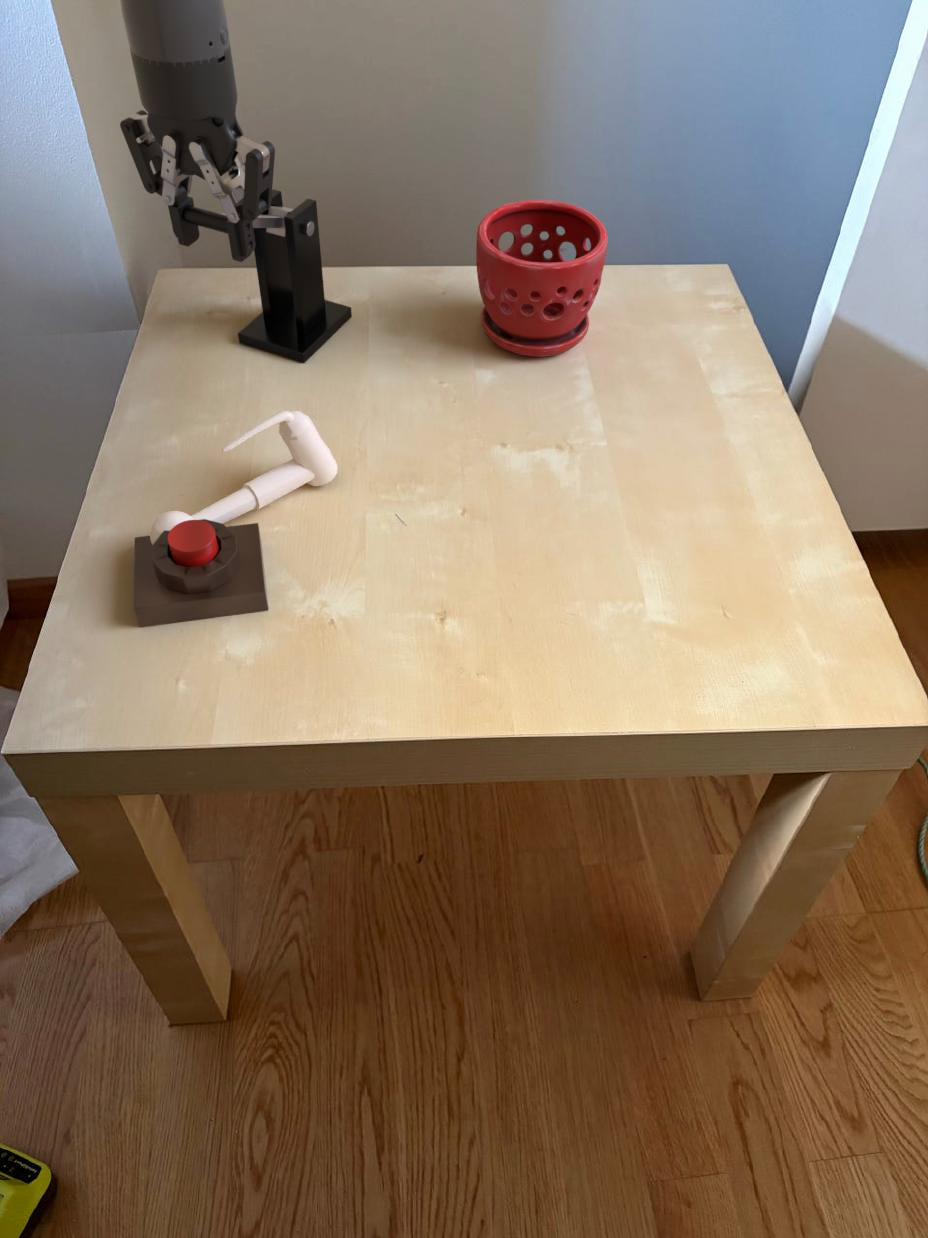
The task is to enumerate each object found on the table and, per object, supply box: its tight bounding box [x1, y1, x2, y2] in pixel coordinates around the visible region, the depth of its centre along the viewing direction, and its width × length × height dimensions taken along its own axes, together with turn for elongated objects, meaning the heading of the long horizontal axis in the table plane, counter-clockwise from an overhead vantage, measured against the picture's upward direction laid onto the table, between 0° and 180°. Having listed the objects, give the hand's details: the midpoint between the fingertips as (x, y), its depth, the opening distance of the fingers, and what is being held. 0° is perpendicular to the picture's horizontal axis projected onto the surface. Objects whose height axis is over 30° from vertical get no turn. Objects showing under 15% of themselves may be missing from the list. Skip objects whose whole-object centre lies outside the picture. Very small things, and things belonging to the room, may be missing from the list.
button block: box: [132, 519, 269, 628], centre depth 77 cm, size 10×8×4 cm
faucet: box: [149, 410, 339, 545], centre depth 81 cm, size 4×18×10 cm, turn 134°
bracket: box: [237, 188, 353, 364], centre depth 98 cm, size 10×8×14 cm
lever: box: [183, 205, 295, 237], centre depth 90 cm, size 14×5×2 cm, turn 155°
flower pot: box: [475, 199, 609, 357], centre depth 100 cm, size 13×13×12 cm
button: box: [168, 520, 218, 567], centre depth 75 cm, size 4×4×2 cm
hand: (216, 248), depth 86 cm, fingers closed on lever, 5 cm apart
